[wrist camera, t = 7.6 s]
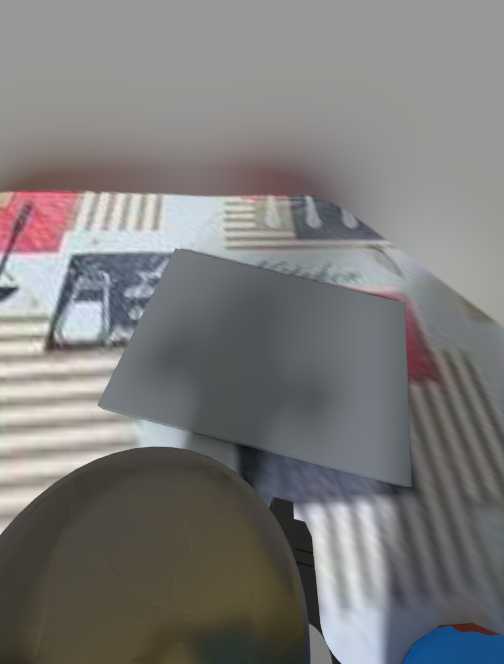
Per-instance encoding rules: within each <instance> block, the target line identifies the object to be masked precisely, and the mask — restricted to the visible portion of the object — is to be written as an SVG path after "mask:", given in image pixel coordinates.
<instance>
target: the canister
mask: <svg viewBox="0 0 504 664" xmlns="http://www.w3.org/2000/svg"><path fill="white" fill-rule="evenodd" d="M310 661H311V654H310V634H309V621H308V614H307V607H306V600H305V594H304V590H303V586H302V582H301V578H300V574H299V570H298V567H297V564H296V561H295V559H294V556H293V553H292V550H291V547H290V545H289V543H288V541H287V539H286V537H285V535H284V533H283V530H282V528H281V526H280V524H279V523H278V521H277V519H276V518H275V516H274V515H273V513H272V512H271V510H270V509H269V507H268V505H267V504H266V503H265V502H264V501H263V499H262V498H261V497H260V496H259V495H258V493H257V492H256V491H255V490H254V489H253V488H252V487H251V486H250V485H249V484H248V483H247V482H246V481H245V480H244V479H243V478H241V477H240V476H239V475H238V474H236V473H235V472H234V471H232V470H231V469H229V468H228V467H226V466H225V465H223V464H221V463H219V462H218V461H216V460H214V459H212V458H210V457H208V456H205V455H202V454H199V453H196V452H193V451H190V450H184V449H179V448H173V447H144V448H134V449H130V450H125V451H121V452H116V453H113V454H110V455H108V456H105V457H102V458H99V459H97V460H94V461H92V462H90V463H88V464H86V465H84V466H82V467H80V468H78V469H76V470H74V471H73V472H71V473H70V474H68V475H67V476H65V477H63V478H62V479H60V480H59V481H57V482H56V483H54V484H53V485H52V486H50V487H49V488H48V489H47V490H45V491H44V492H43V493H42V494H40V495H39V496H38V497H36V498H35V499H34V500H33V501H32V502H31V503H30V504H29V505H28V506H27V507H26V508H25V509H24V510H23V511H22V512H21V513H20V514H19V515H17V516H16V518H15V519H14V520H13V521H12V522H11V523H10V524H9V526H8V527H7V528H6V529H5V530H4V531H3V532H2V534H1V535H0V664H310Z"/></svg>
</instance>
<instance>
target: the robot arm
mask: <svg viewBox="0 0 504 664" xmlns="http://www.w3.org/2000/svg"><path fill="white" fill-rule="evenodd" d="M269 509H270V510H271V512H272V513H273V515H274V516H275V518H276V519H277V521H278V523H279V524H280V526H281V528H282V530H283V533H284V535H285V537H286V539H287V541H288V543H289V545H290V547H291V550H292V553H293V556H294V559H295V561H296V564H297V567H298V570H299V574H300V578H301V582H302V586H303V590H304V594H305V600H306V607H307V614H308V621H309V634H310V654H311V661H310V664H341V663H340V662H339V661H338V660H337V659H336V657H335V656H334V655H333V654H332V652H331V650H330V649H329V647H328V645H327V643H326V641H325V639H324V636H323V633H322V629H321V624H320V615H319V605H318V595H317V585H316V574H315V569H314V567H315V564H314V556H313V544H312V536H311V534H310V532H309V530H308V528H307V526H306V523H305V522H303V521H300V520H296V519H294V510H293V502H291V501H287V500H283V499H280V498H276V497H273V498H272V501H271V504H270V508H269Z"/></svg>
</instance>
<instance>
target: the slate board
mask: <svg viewBox="0 0 504 664" xmlns="http://www.w3.org/2000/svg"><path fill="white" fill-rule="evenodd" d="M98 406H99V407H101V408H102V409H104V410H108V411H112V412H116V413H120V414H124V415H128V416H131V417H135V418H139V419H143V420H147V421H151V422H155V423H158V424H162V425H166V426H170V427H174V428H178V429H181V430H185V431H189V432H193V433H197V434H201V435H205V436H208V437H212V438H216V439H220V440H224V441H228V442H232V443H235V444H239V445H243V446H247V447H251V448H255V449H258V450H262V451H266V452H270V453H274V454H278V455H282V456H285V457H289V458H293V459H297V460H301V461H305V462H309V463H312V464H316V465H320V466H324V467H328V468H332V469H336V470H339V471H343V472H347V473H351V474H355V475H359V476H362V477H366V478H370V479H374V480H378V481H382V482H386V483H389V484H393V485H397V486H401V487H412V481H411V454H410V427H409V400H408V373H407V346H406V319H405V303H403V302H399V301H395V300H391V299H387V298H382V297H378V296H374V295H370V294H365V293H361V292H357V291H353V290H349V289H344V288H340V287H336V286H332V285H328V284H323V283H319V282H315V281H311V280H307V279H302V278H298V277H294V276H290V275H286V274H281V273H277V272H273V271H269V270H265V269H260V268H256V267H252V266H248V265H244V264H239V263H235V262H231V261H227V260H222V259H218V258H214V257H210V256H206V255H201V254H197V253H193V252H189V251H185V250H180V249H175V251H174V253H173V255H172V257H171V259H170V261H169V263H168V265H167V267H166V269H165V271H164V273H163V275H162V277H161V279H160V281H159V283H158V285H157V287H156V289H155V291H154V293H153V295H152V297H151V299H150V301H149V303H148V305H147V307H146V309H145V311H144V313H143V315H142V317H141V319H140V321H139V323H138V325H137V327H136V329H135V331H134V333H133V335H132V337H131V339H130V341H129V343H128V345H127V347H126V349H125V351H124V353H123V355H122V357H121V359H120V361H119V363H118V365H117V367H116V369H115V371H114V373H113V375H112V377H111V379H110V381H109V383H108V385H107V387H106V389H105V391H104V393H103V395H102V397H101V399H100V401H99V403H98Z"/></svg>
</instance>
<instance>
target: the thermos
mask: <svg viewBox="0 0 504 664" xmlns="http://www.w3.org/2000/svg"><path fill="white" fill-rule="evenodd" d="M402 664H504V636H502V635H500V634H497V633H495V632H492V631H490V630H487V629H485V628H482V627H480V626H477V625H475V624H473V623H470V624H455V625H440V626H439V627H437V628H436V629H434V630H433V631H431V632H430V633H429V634H427V635H426V636H424V637H423V638H421V639H420V640H418V641H417V642H415V643H414V644H413V645H412V647H411V649H410V650H409V652H408V654H407V656H406V657H405V659H404V661H403V662H402Z"/></svg>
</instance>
